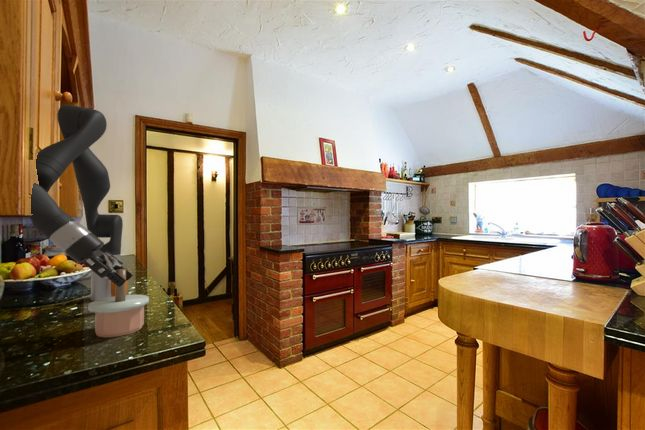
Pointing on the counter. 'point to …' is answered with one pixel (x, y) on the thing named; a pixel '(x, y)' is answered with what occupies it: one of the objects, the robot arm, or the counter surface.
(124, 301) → the celadon lid
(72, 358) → the counter surface
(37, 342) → the counter surface
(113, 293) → the carrot
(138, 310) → the terracotta pot
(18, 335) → the counter surface
